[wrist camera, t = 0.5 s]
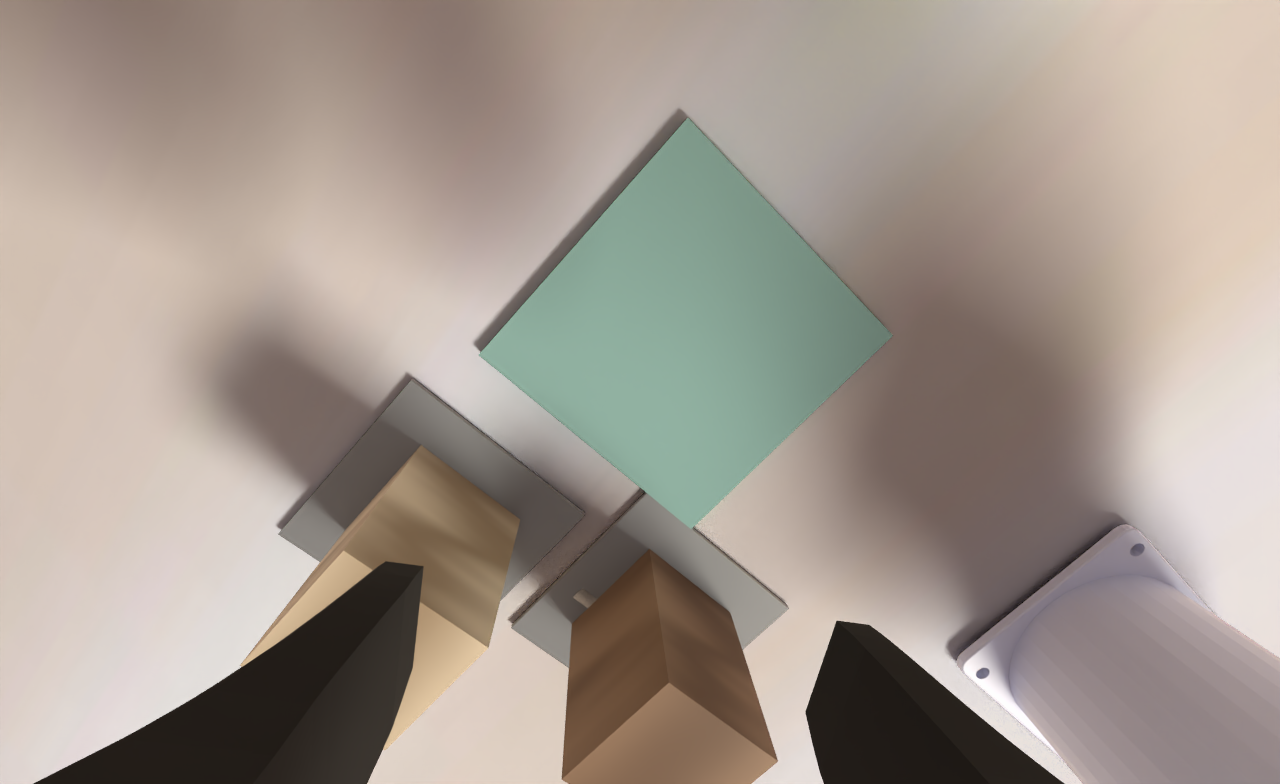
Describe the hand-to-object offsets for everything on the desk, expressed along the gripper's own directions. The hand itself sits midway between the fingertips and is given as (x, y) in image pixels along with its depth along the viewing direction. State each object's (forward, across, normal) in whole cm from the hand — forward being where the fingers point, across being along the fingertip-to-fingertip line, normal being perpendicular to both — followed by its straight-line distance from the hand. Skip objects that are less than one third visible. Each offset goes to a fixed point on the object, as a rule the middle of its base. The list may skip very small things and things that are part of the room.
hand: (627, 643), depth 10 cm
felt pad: (+10, -2, -4) cm, 10 cm away
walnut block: (+9, -2, +6) cm, 12 cm away
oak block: (+9, +5, +4) cm, 11 cm away
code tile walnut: (+10, -2, +6) cm, 12 cm away
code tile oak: (+10, +5, +4) cm, 12 cm away
